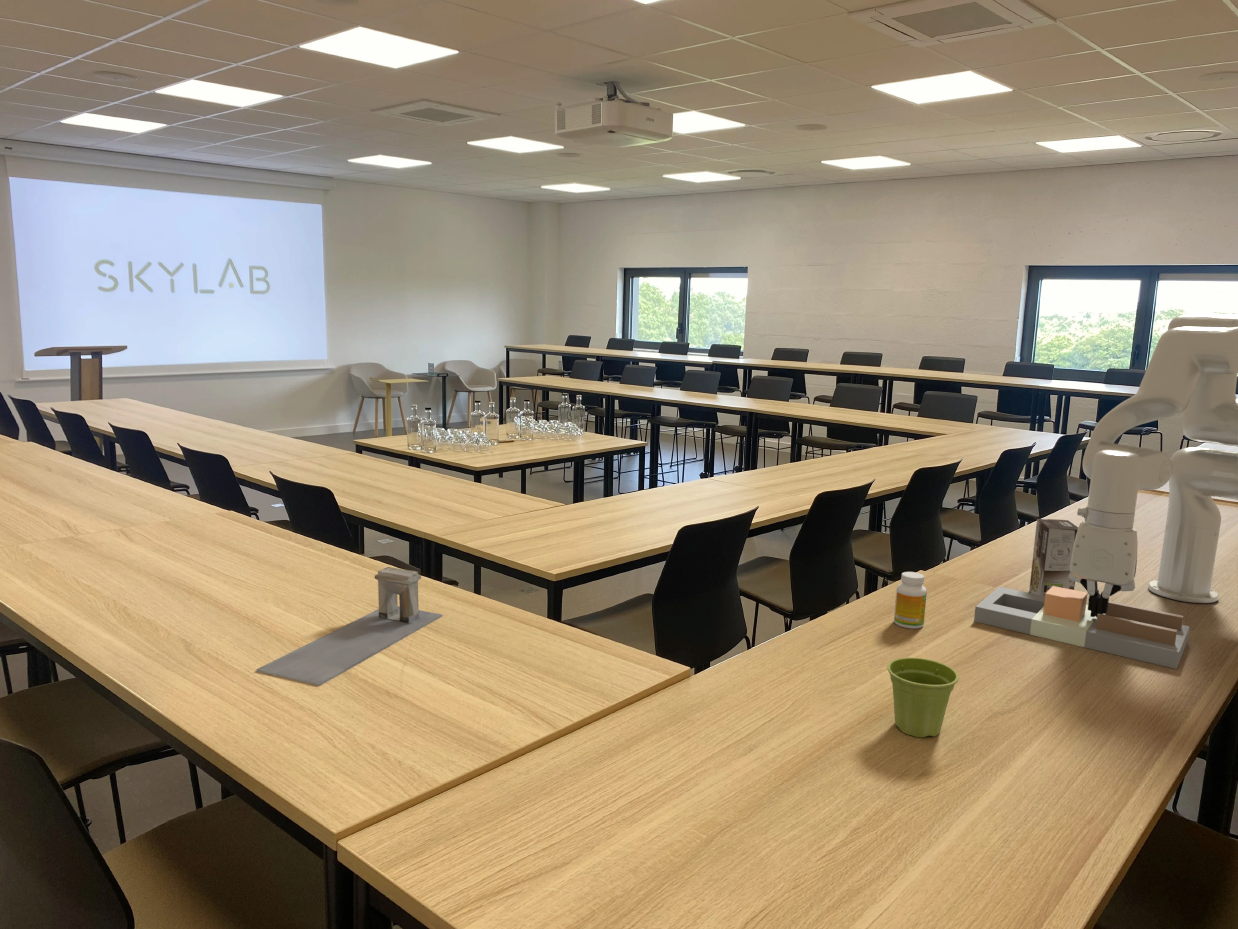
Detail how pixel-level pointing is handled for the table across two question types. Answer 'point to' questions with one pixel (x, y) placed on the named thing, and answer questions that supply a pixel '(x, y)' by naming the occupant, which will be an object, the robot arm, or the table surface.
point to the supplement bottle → (910, 601)
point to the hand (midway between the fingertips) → (1096, 615)
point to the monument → (359, 633)
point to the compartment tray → (1091, 626)
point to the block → (1065, 603)
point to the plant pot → (920, 694)
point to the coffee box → (1052, 555)
